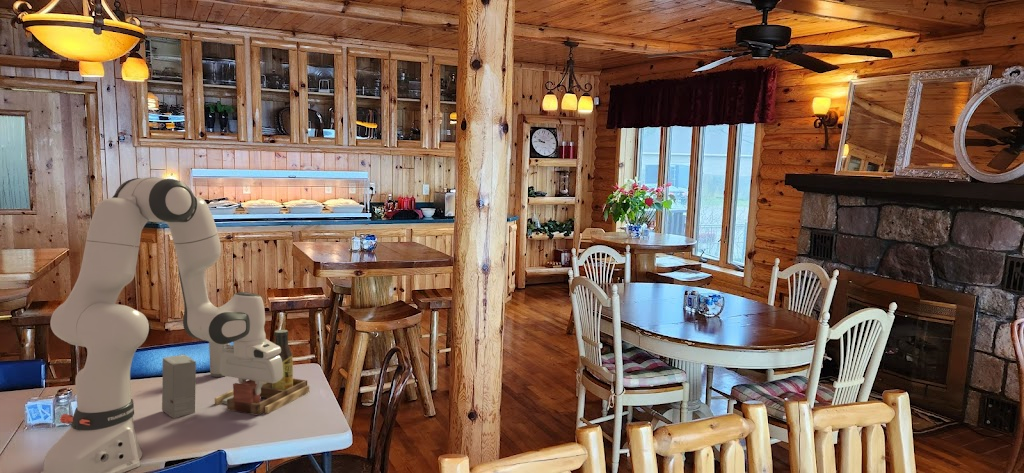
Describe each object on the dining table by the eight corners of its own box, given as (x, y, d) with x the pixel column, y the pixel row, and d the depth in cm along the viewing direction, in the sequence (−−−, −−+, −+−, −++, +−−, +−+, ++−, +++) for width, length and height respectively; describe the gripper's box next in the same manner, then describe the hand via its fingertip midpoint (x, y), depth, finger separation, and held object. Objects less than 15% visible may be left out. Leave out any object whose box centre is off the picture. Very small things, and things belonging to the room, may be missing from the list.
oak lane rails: (267, 413, 191) (267, 407, 191) (214, 404, 197) (214, 398, 197) (309, 392, 209) (309, 385, 208) (259, 384, 215) (259, 378, 215)
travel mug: (205, 377, 222) (203, 318, 219) (217, 370, 228) (215, 313, 226) (223, 378, 221) (220, 319, 218) (234, 371, 227) (232, 314, 225)
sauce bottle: (289, 397, 204) (287, 334, 201) (268, 397, 204) (266, 333, 202) (296, 389, 210) (294, 328, 208) (276, 389, 210) (274, 328, 208)
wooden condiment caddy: (258, 415, 189) (257, 387, 188) (227, 409, 193) (226, 383, 192) (307, 389, 210) (306, 365, 209) (278, 385, 214) (278, 361, 213)
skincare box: (161, 411, 192) (158, 358, 190) (187, 404, 197) (184, 352, 195) (172, 419, 186) (170, 364, 184) (199, 412, 191) (196, 359, 190)
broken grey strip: (232, 405, 197) (231, 385, 196) (222, 403, 198) (221, 383, 198) (272, 386, 213) (271, 368, 213) (262, 384, 215) (262, 366, 214)
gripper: (213, 346, 193) (215, 392, 195) (270, 354, 186) (272, 401, 188) (229, 340, 199) (231, 385, 201) (285, 348, 192) (287, 394, 194)
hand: (251, 393), depth 194 cm, fingers closed on wooden condiment caddy, 2 cm apart
